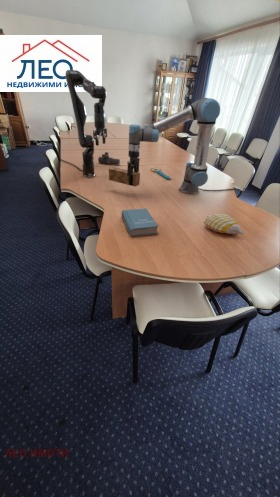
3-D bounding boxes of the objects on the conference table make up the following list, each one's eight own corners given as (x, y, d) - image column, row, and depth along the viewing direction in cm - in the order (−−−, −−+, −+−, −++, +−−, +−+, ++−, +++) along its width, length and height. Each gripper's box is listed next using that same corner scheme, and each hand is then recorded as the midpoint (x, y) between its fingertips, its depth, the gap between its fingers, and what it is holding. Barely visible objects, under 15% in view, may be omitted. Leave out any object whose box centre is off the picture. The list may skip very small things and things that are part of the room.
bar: (108, 180, 168) (108, 168, 163) (113, 177, 173) (113, 166, 168) (135, 186, 160) (136, 175, 155) (139, 184, 165) (140, 172, 159)
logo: (149, 168, 227) (150, 167, 227) (158, 168, 230) (158, 167, 229) (161, 179, 202) (161, 179, 201) (171, 179, 204) (171, 178, 204)
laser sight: (117, 166, 227) (117, 156, 221) (96, 163, 230) (96, 153, 224) (120, 163, 234) (120, 154, 229) (100, 161, 237) (99, 151, 231)
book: (157, 233, 128) (158, 226, 125) (130, 236, 123) (130, 229, 120) (145, 215, 145) (146, 208, 142) (121, 217, 141) (121, 210, 138)
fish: (254, 225, 128) (232, 232, 118) (249, 236, 132) (228, 244, 123) (221, 208, 144) (199, 213, 134) (217, 218, 149) (196, 224, 139)
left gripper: (101, 118, 165) (102, 142, 175) (89, 120, 155) (90, 145, 165) (109, 120, 163) (110, 143, 172) (97, 121, 152) (99, 146, 162)
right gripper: (132, 154, 142) (130, 188, 155) (145, 149, 155) (143, 181, 169) (122, 152, 144) (121, 186, 158) (135, 147, 158) (134, 179, 172)
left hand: (100, 144), depth 168 cm, fingers open, 8 cm apart
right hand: (132, 183), depth 164 cm, fingers closed on bar, 6 cm apart
